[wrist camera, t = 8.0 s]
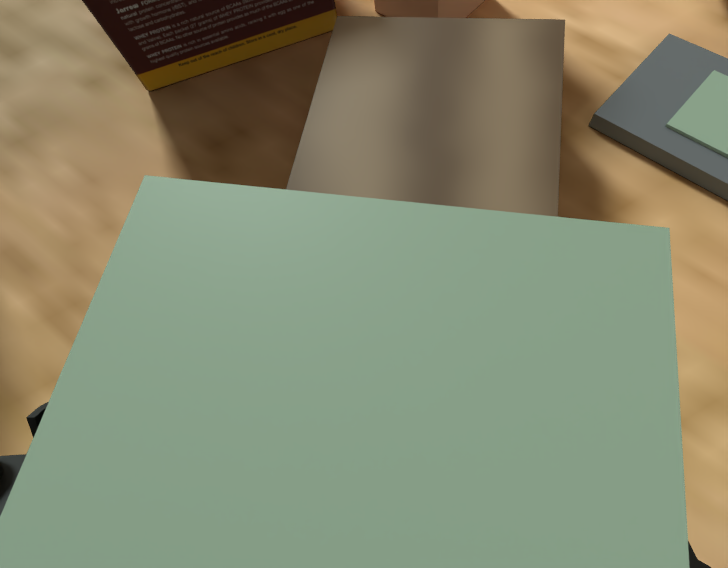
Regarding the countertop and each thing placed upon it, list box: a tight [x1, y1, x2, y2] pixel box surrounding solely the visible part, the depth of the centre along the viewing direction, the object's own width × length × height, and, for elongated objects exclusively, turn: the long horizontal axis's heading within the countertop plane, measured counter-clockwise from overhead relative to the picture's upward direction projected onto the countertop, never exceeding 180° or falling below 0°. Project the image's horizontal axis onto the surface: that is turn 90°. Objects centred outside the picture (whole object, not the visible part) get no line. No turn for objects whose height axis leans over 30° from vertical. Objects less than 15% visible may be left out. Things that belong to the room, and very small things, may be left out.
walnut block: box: [286, 16, 565, 217], centre depth 24 cm, size 12×12×6 cm
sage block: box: [0, 175, 689, 568], centre depth 9 cm, size 6×6×12 cm
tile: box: [589, 34, 728, 201], centre depth 25 cm, size 12×8×1 cm, turn 46°
